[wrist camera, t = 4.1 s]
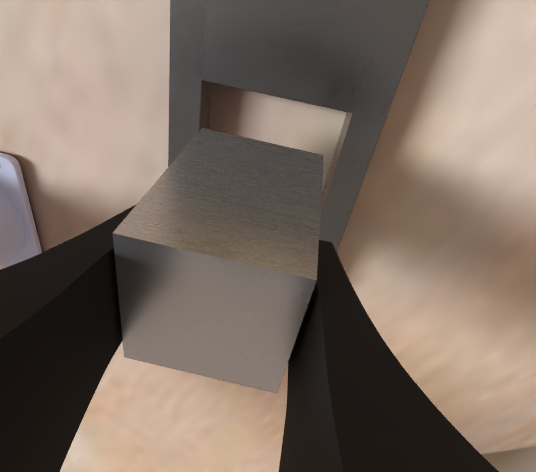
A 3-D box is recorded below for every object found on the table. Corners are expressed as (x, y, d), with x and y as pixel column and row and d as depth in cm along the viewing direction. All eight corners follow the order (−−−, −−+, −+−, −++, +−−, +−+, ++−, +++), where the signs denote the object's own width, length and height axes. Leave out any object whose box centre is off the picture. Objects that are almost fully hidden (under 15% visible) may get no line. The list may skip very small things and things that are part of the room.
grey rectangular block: (195, 227, 14) (124, 356, 9) (202, 127, 12) (112, 232, 7) (295, 250, 14) (277, 393, 9) (323, 155, 12) (317, 280, 7)
